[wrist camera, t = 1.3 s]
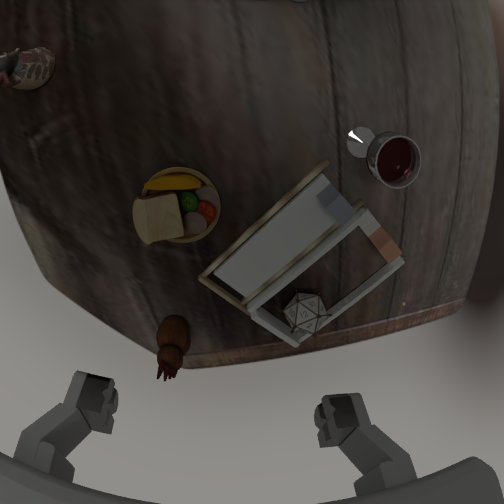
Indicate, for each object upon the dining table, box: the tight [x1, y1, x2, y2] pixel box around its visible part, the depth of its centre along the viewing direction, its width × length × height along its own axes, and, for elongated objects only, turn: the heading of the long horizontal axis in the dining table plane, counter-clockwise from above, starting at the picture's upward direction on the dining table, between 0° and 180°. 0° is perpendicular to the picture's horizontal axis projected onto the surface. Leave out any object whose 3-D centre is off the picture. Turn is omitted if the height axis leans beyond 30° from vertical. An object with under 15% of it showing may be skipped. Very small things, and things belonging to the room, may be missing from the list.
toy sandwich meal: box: [132, 167, 221, 245], centre depth 43 cm, size 12×14×5 cm
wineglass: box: [347, 127, 422, 189], centre depth 36 cm, size 7×7×12 cm
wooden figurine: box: [156, 316, 191, 381], centre depth 51 cm, size 7×6×15 cm
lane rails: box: [198, 158, 406, 317], centre depth 52 cm, size 29×26×1 cm
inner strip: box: [214, 173, 357, 298], centre depth 46 cm, size 24×8×6 cm, turn 135°
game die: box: [278, 289, 333, 338], centre depth 53 cm, size 9×8×10 cm
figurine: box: [0, 47, 55, 90], centre depth 26 cm, size 7×7×12 cm
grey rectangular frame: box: [247, 206, 405, 348], centre depth 52 cm, size 27×14×5 cm, turn 135°
